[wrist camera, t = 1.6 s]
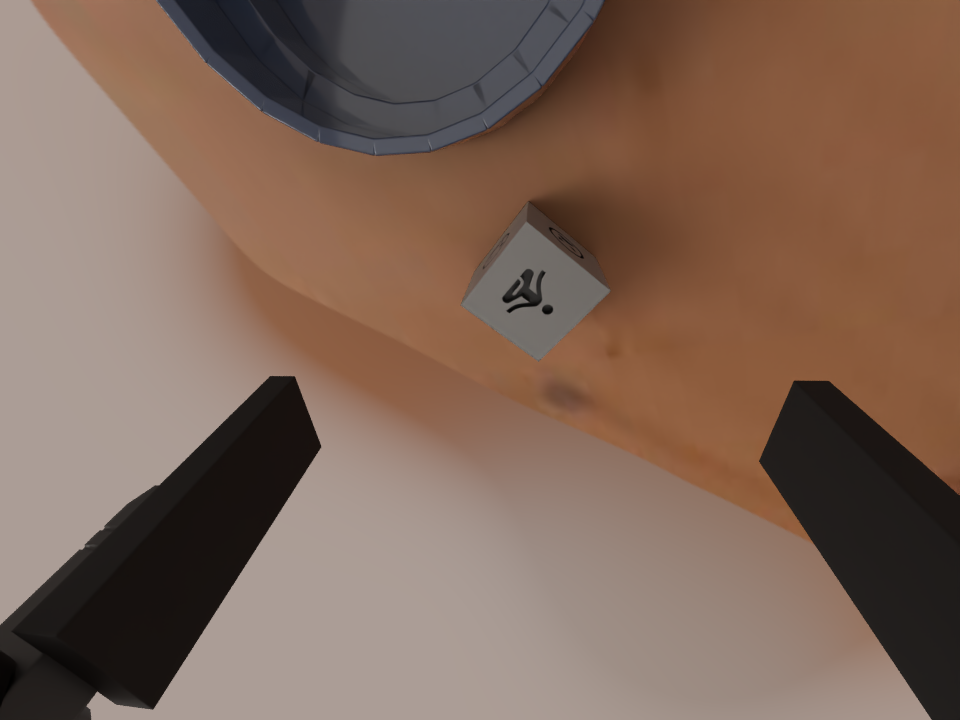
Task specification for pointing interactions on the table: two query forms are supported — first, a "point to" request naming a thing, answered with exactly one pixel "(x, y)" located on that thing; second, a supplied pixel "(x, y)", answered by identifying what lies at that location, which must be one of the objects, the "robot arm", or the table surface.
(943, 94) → the table surface
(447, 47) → the blue round bowl
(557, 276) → the dice cube
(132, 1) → the table surface
